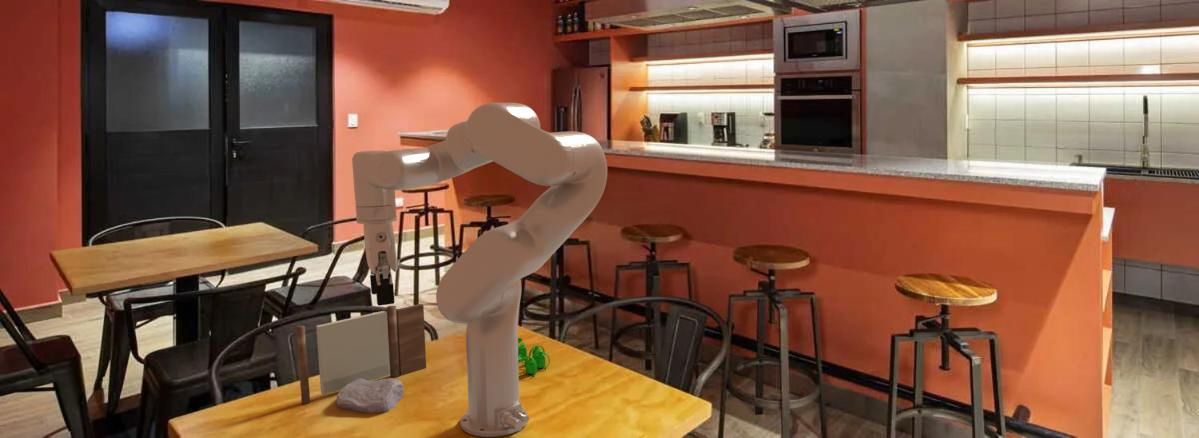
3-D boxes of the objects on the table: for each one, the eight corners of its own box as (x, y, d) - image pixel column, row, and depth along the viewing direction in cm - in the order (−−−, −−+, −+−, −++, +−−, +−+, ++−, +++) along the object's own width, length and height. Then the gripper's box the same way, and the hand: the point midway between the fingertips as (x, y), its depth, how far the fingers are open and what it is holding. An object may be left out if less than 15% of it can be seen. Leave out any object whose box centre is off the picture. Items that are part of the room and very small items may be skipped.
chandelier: (493, 356, 167) (493, 328, 166) (554, 357, 166) (554, 330, 164) (477, 379, 152) (476, 349, 151) (544, 381, 151) (543, 351, 150)
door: (387, 373, 153) (384, 310, 151) (390, 375, 152) (386, 311, 150) (320, 393, 142) (316, 325, 140) (323, 394, 142) (318, 327, 139)
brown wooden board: (427, 368, 158) (424, 300, 156) (304, 405, 138) (298, 328, 136) (422, 366, 160) (419, 299, 157) (300, 402, 140) (294, 326, 137)
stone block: (390, 423, 135) (407, 393, 144) (385, 402, 133) (404, 373, 142) (332, 422, 136) (353, 393, 145) (327, 402, 134) (349, 373, 144)
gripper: (402, 217, 128) (408, 306, 131) (390, 207, 144) (395, 287, 147) (360, 221, 125) (367, 311, 128) (352, 210, 141) (358, 291, 144)
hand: (382, 298), depth 137 cm, fingers open, 9 cm apart
